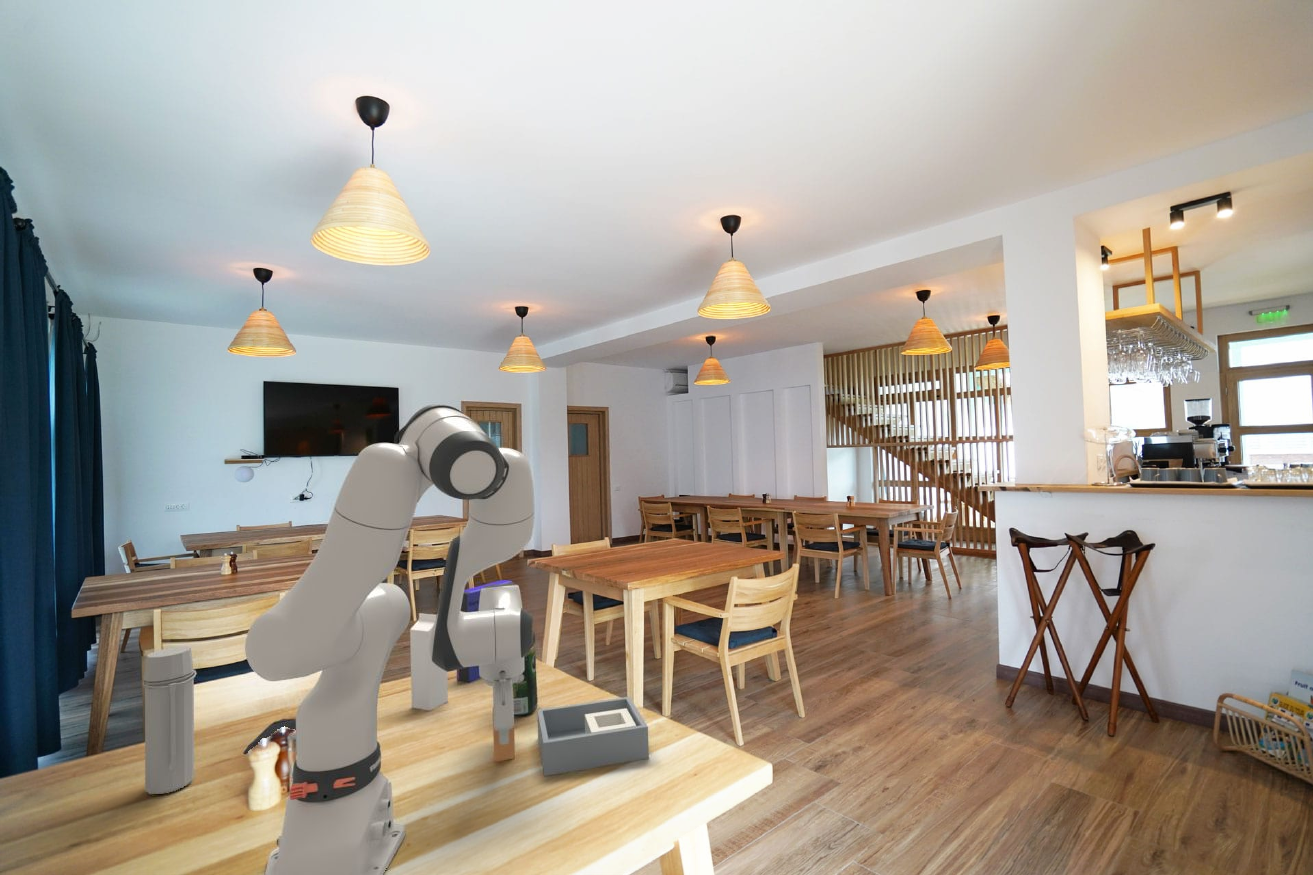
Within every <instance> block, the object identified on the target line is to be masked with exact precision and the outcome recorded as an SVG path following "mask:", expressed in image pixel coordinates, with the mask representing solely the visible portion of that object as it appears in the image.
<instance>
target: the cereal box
mask: <svg viewBox="0 0 1313 875" xmlns="http://www.w3.org/2000/svg"><path fill="white" fill-rule="evenodd" d="M508 583H514V581H511V580H506V579H505V580H497V581H495V582H489V583H486V584H483V585H478V586H474V587H471V588H467V589H464V594H463V600H462V605H461V611H462V612H476V611H479V600H480V593H481V589H482V588H484V587H485V586H488V585H497V584H508ZM480 679H482V678H481V677H480V675H479V666H471V667H466V668H463V669H458V670H456V681H457V682H461V683H466V684H471V683H474V682H476V681H478V680H480Z"/></svg>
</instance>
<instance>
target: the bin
mask: <svg viewBox="0 0 1313 875" xmlns="http://www.w3.org/2000/svg"><path fill="white" fill-rule="evenodd" d="M625 708H627V710H628V712H629V714H630V715H631V717H632V719H633V721H634V722H635V724H636V726H634V727H628V728H621V729H615V730H609V731H602V732H596V733H590V734H585V714H591V713H598V712H605V711H612V710H618V709H625ZM536 712H537V713H536V714H537V716H536V717H537V718H536V720H537V740H538V745H539V746H538V747H539V751H540V758H541V764H542V769H543V774H544V775H543V776H544V777H547V776H554V775H558V774H565V773H571V772H576V771H582V770H589V769H595V768H600V767H605V766H611V765H618V764H622V763H628V762H633V761H634V762H635V761H640V760H646V759H650V753H649V752H650V751H649V749H650V748H649V726H648V724H647V722H646V721H645V720H644V717H643V716H642V715H641V713H640V711H639V709H638V708H637V707H636V705H635V703H634V701H633V699H632V698H631V696H623V697H617V698H610V699H605V700H604V699H603V700H597V701H590V702H581V703H575V704H569V705H561V706H554V707H548V708H547V707H546V708H541V709H536Z"/></svg>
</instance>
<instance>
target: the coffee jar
mask: <svg viewBox="0 0 1313 875" xmlns="http://www.w3.org/2000/svg"><path fill="white" fill-rule="evenodd" d="M532 639H533V643H534V645H533V647H532V648H531V649H530V651H529V652H528V653H527V654H526V655H525V656H524V665H525V670H524V672H523V673H522V674H520V675H518V681H517V682H515V683H513V684H512V685H513V702H514V718H515V717H518V718H519V717H522V716H525V715H530V714H532V713H533V712H534V711H535V709H536V707H537V706H538V684H537V683H538V682H537V680H538V679H537V660H536V659H537V657H536V654H537V653H536V651H537V650H536V635H535V631H533V630H532Z"/></svg>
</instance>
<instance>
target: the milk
mask: <svg viewBox="0 0 1313 875" xmlns="http://www.w3.org/2000/svg"><path fill="white" fill-rule="evenodd" d="M436 615H437V614H433V613H430V614H429V613H421V612H420V613H418V620H417V621H416V622H415V623H414V625H413V626H411V628H410V630H409V636H410V638H409V639H410V640H409V641H410V686H411V689H410V690H411V691H410V692H411V695H410V696H411V708H412V709H418V710H423V711H429V712H431V711H433V710H434V709H436V708H438V707H440V706H442V705H444V704H446V703H448V702H449V694H448V693H449V691H448V690H449V689H448V685H449V684H448V672H447V671H445V670H443V669H441V668H440V667H438V666H437V665H436V664H435V663H433V662H432V659H431V656H430V651H429V641H430V635H431V631H432V628H433V625H434V623H435V620H436Z"/></svg>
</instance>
